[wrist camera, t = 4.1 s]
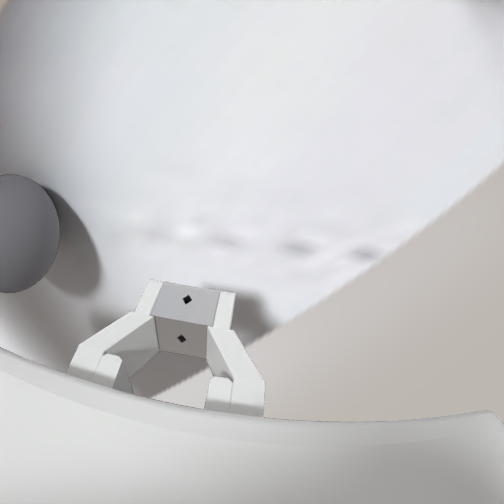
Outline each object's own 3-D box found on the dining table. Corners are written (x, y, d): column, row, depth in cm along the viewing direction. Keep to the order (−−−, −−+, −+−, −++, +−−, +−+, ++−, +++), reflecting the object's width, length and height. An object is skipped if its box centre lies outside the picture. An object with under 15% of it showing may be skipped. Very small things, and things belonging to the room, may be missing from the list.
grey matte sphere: (-4, 156, 12) (-75, 211, 8) (70, 156, 12) (-8, 222, 8) (17, 239, 15) (-34, 302, 11) (87, 252, 15) (38, 330, 11)
